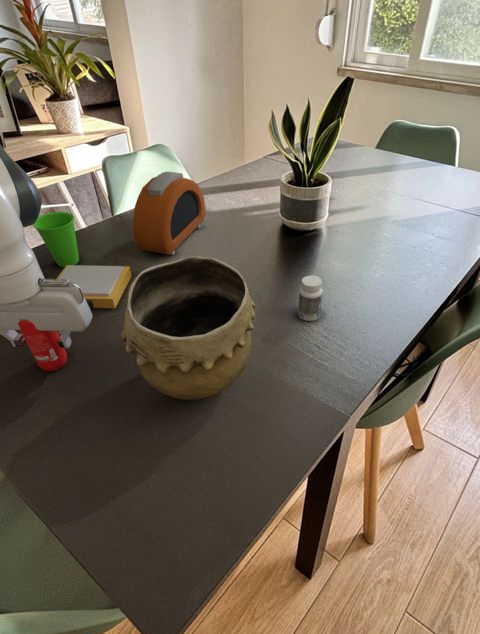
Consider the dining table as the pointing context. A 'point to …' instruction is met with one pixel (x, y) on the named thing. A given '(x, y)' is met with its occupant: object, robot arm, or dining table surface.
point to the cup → (59, 236)
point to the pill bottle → (310, 298)
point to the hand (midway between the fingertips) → (43, 345)
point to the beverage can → (43, 346)
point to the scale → (98, 283)
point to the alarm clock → (167, 212)
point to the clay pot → (189, 326)
